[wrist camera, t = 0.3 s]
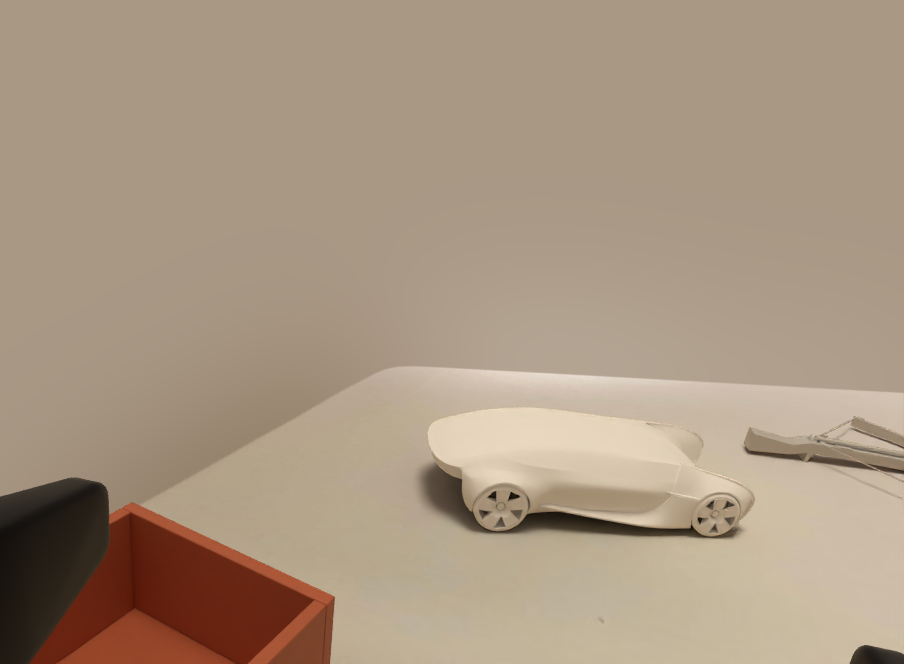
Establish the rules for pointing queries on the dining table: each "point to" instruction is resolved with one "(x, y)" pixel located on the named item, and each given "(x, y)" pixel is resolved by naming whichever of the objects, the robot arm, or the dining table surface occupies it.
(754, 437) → the crossbow
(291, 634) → the can bin
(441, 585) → the dining table surface
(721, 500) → the toy car
